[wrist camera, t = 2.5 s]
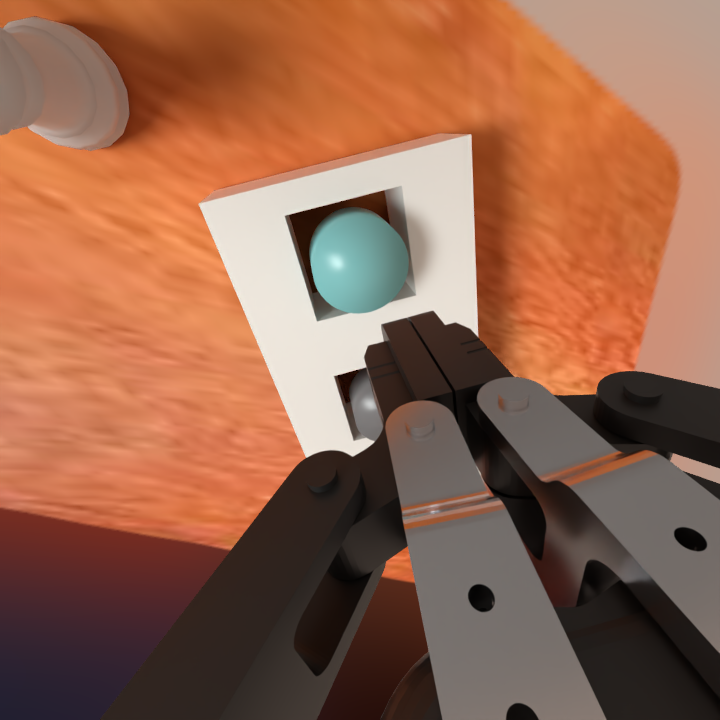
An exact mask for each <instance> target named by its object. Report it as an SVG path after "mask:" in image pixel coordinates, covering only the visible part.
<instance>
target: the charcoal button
mask: <svg viewBox="0 0 720 720" xmlns="http://www.w3.org/2000/svg"><path fill="white" fill-rule="evenodd" d="M349 397H350V401H351V405H352V410H353V414H354V418H355V422H356V426H357V428H358V430H359V432H360V433H361V434H362V435H363V436H364V437H366V438H368V439H370V440H372V441H376V440H377V438H378V437H379V435H380V434H381V432H382V429H383V426H382V423H381V420H380V417H379V413H378V410H377V407H376V404H375V400H374V397H373V393H372V389H371V384H370V380H369V376H368V372H367V368H363V369H362V370H360V371H359V372H358V373H357V374H356V376H355V377H354V378H353V380H352V382H351V385H350V388H349Z"/></svg>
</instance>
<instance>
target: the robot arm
mask: <svg viewBox="0 0 720 720" xmlns="http://www.w3.org/2000/svg"><path fill="white" fill-rule="evenodd" d="M381 330H382V335H383V340H384V342H380V343H376V344H372V345H368V347H367V350H366V353H365V355H364V360H365V364H366V368H367V372H368V376H369V380H370V384H371V389H372V393H373V397H374V400H375V404H376V407H377V410H378V413H379V417H380V420H381V423H382V426H383V429H382V432H381V434H380V435H379V437H378V438H377V440H376V441H375V442H374V443H373V444H372V445H370V446H369V447H368V448H366V449H365V450H363V451H362V452H360V453H358V454H356V455H355V456H353V457H352V456H351V455H349V454H347V453H345V452H342V451H338V450H327V451H321V452H318V453H315V454H313V455H311V456H309V457H307V458H306V459H304V460H303V461H301V462H300V463H299V464H298V465H297V466H296V467H295V468H294V470H293V471H292V472H291V473H290V475H289V476H288V477H287V479H286V480H285V481H284V482H283V484H282V485H281V486H280V488H279V489H278V490H277V491H276V493H275V494H274V495H273V497H272V498H271V499H270V501H269V502H268V503H267V504H266V506H265V507H264V508H263V510H262V511H261V512H260V513H259V515H258V516H257V517H256V519H255V520H254V521H253V523H252V524H251V525H250V526H249V528H248V529H247V530H246V532H245V533H244V534H243V535H242V537H241V538H240V539H239V541H238V542H237V543H236V544H235V546H234V547H233V548H232V550H231V551H230V552H229V554H228V555H227V556H226V558H225V559H224V560H223V561H222V563H221V564H220V565H219V567H218V568H217V569H216V570H215V572H214V573H213V574H212V576H211V577H210V578H209V579H208V581H207V582H206V583H205V585H204V586H203V587H202V589H201V590H200V591H199V592H198V594H197V595H196V596H195V597H194V599H193V600H192V601H191V603H190V604H189V605H188V607H187V608H186V609H185V611H184V612H183V613H182V614H181V616H180V617H179V618H178V619H177V621H176V622H175V623H174V625H173V626H172V627H171V629H170V630H169V631H168V632H167V634H166V635H165V636H164V638H163V639H162V640H161V641H160V643H159V644H158V645H157V647H156V648H155V649H154V651H153V652H152V653H151V654H150V656H149V657H148V658H147V660H146V661H145V662H144V663H143V665H142V666H141V667H140V669H139V670H138V671H137V672H136V674H135V675H134V676H133V678H132V679H131V680H130V682H129V683H128V684H127V686H126V687H125V688H124V689H123V691H122V692H121V693H120V694H119V696H118V697H117V698H116V700H115V701H114V702H113V703H112V705H111V706H110V707H109V709H108V710H107V711H106V713H105V714H104V715H103V716H102V718H101V719H100V720H317V717H318V715H319V713H320V711H321V708H322V706H323V704H324V702H325V700H326V697H327V695H328V693H329V691H330V688H331V686H332V684H333V682H334V680H335V677H336V675H337V673H338V671H339V669H340V666H341V664H342V662H343V660H344V657H345V655H346V653H347V650H348V649H349V646H350V644H351V642H352V640H353V637H354V635H355V633H356V631H357V629H358V626H359V624H360V622H361V620H362V618H363V615H364V613H365V611H366V609H367V606H368V604H369V602H370V600H371V598H372V595H373V593H374V591H375V589H376V587H377V584H378V582H379V580H380V578H381V576H382V573H383V571H384V568H385V564H386V561H387V560H389V559H390V558H391V557H393V556H394V555H396V554H397V553H398V552H400V551H401V550H403V549H404V548H406V547H407V546H408V549H409V554H410V559H411V564H412V569H413V574H414V579H415V584H416V589H417V594H418V599H419V604H420V609H421V614H422V619H423V624H424V629H425V634H426V639H427V644H428V649H429V652H428V653H426V654H425V655H424V656H423V657H422V658H421V659H420V660H419V661H418V662H417V663H416V664H415V665H414V666H413V667H412V668H411V669H410V670H409V672H408V673H407V674H406V676H405V677H404V678H403V679H402V680H401V682H400V683H399V685H398V687H397V688H396V690H395V691H394V693H393V695H392V697H391V698H390V700H389V702H388V704H387V707H386V709H385V711H384V713H383V715H382V718H381V720H720V484H718V483H716V482H713V481H710V480H707V479H704V478H701V477H699V476H696V475H693V474H690V473H687V472H684V471H682V470H681V469H679V468H678V467H677V466H675V465H674V464H673V463H672V462H670V460H671V457H672V454H673V453H675V454H678V455H680V456H683V457H687V458H690V459H693V460H696V461H699V462H702V463H705V464H708V465H711V466H714V467H717V468H720V389H718V388H713V387H709V386H704V385H700V384H695V383H691V382H687V381H682V380H677V379H673V378H669V377H664V376H660V375H655V374H651V373H645V372H637V371H625V372H618V373H613V374H610V375H608V376H606V377H604V378H603V379H602V380H601V381H600V382H599V384H598V386H597V392H596V394H594V395H565V396H563V395H553V394H551V393H550V392H549V391H548V390H547V389H546V388H544V387H543V386H542V385H540V384H538V383H537V382H534V381H532V380H529V379H525V378H519V377H514V376H513V375H512V374H511V373H510V372H509V371H508V370H507V369H506V367H505V366H504V365H503V364H502V363H501V362H500V361H499V360H498V359H497V358H496V356H495V355H494V354H493V353H492V352H491V351H490V350H489V349H487V346H486V345H485V344H484V343H483V342H482V341H480V340H479V338H478V337H477V335H476V334H475V333H474V332H473V331H472V330H471V329H470V328H468V327H465V326H463V325H461V324H458V323H456V322H455V323H451V324H447V325H445V324H444V323H443V322H442V320H441V319H440V318H439V317H438V315H437V314H436V313H435V312H434V311H429V312H425V313H421V314H417V315H414V316H410V317H407V318H403V319H399V320H395V321H391V322H388V323H384V324H381ZM476 466H477V467H476ZM477 468H478V469H477ZM478 470H479V471H478ZM479 472H480V473H481V476H480V473H479Z"/></svg>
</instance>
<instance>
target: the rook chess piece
mask: <svg viewBox="0 0 720 720" xmlns="http://www.w3.org/2000/svg"><path fill="white" fill-rule="evenodd" d="M129 115H130V114H129V103H128V93H127V89H126V87H125V85H124V82H123V80H122V78H121V75H120V73H119V71H118V69H117V66H116V65H115V64H114V62H113V61H112V60H111V59H110V58H109V56H108V55H107V54H106V53H105V52H104V50H103V49H102V48H101V47H100V46H99V44H98V43H97V42H95V41H94V40H92V39H91V38H89V37H88V36H86V35H85V34H83V33H82V32H81V31H79V30H78V29H76V28H75V27H73V26H70V25H66V24H62V23H59V22H55V21H51V20H48V19H44V18H40V17H36V16H34V17H30V18H25V19H20V20H16V21H11V22H8V23H7V24H6V26H5V27H4V28H3V29H2V28H0V135H4V134H8V133H9V132H10V131H11V130H12V129H13V130H14V129H18V128H22V127H28V128H29V129H30V130H31V131H33V132H35V133H37V134H38V135H40V136H42V137H44V138H46V139H47V140H49V141H51V142H53V143H55V144H57V145H59V146H64V147H69V148H75V149H80V150H82V149H85V150H90V151H91V150H96V149H100V148H104V147H109V146H111V145H112V144H113V143H114V142H115V141H116V140H117V139H118V138H119V137H120V136H122V135H123V133H124V130H125V127H126V124H127V121H128V118H129Z"/></svg>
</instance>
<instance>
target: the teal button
mask: <svg viewBox="0 0 720 720" xmlns="http://www.w3.org/2000/svg"><path fill="white" fill-rule="evenodd" d="M309 255H310V263H311V268H312V274H313V278H314V282H315V285H316V288H317V289H318V291H319V293H320V294H321V296H322V297H323V298H324V299H325V300H326V301H327V302H328V303H329V304H330V305H332V306H333V307H335V308H337V309H339V310H341V311H344V312H348V313H357V314H360V313H368V312H372V311H375V310H377V309H380V308H382V307H383V306H385V305H387V304H388V303H389V302H390V301H392V300H393V299H394V298H395V297H396V295H397V294H398V293H399V292H400V290H401V288H402V287H403V285H404V283H405V280H406V277H407V274H408V267H409V259H408V252H407V249H406V246H405V243H404V242H403V240H402V238H401V237H400V235H399V234H398V233H397V232H396V231H395V230H394V229H393V228H392V227H391V226H390V225H389V224H388V223H387V222H386V221H385V220H384V219H383V218H381V217H380V216H379V215H378V214H376V213H374V212H373V211H371V210H368V209H365V208H361V207H347V208H342V209H339V210H337V211H335V212H333V213H331V214H330V215H328V216H327V217H326V218H324V219H323V220H322V221H321V223H320V224H319V225H318V226H317V228H316V229H315V231H314V233H313V236H312V239H311V242H310V249H309Z"/></svg>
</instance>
